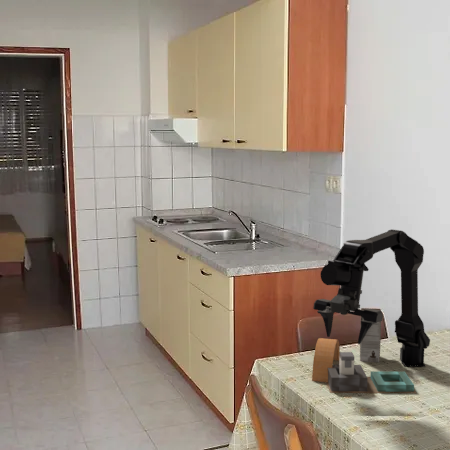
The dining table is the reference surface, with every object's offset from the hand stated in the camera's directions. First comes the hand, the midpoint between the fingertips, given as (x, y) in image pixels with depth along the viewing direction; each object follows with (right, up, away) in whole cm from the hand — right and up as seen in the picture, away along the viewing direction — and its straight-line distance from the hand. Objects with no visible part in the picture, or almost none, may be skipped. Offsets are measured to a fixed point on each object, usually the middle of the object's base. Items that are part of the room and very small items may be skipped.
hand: (343, 340), depth 176 cm
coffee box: (+13, -11, +26) cm, 31 cm away
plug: (+1, -13, +3) cm, 14 cm away
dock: (+8, -14, +3) cm, 17 cm away
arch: (-2, -13, +15) cm, 20 cm away
